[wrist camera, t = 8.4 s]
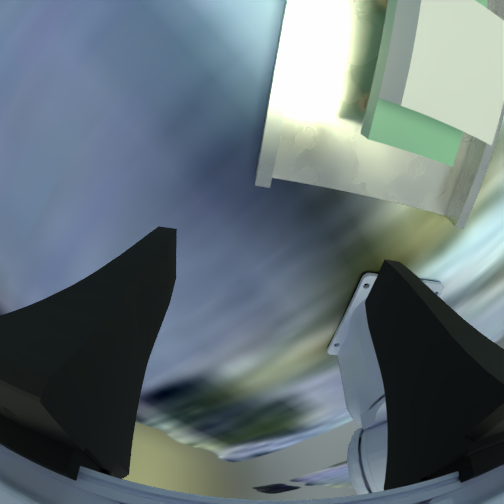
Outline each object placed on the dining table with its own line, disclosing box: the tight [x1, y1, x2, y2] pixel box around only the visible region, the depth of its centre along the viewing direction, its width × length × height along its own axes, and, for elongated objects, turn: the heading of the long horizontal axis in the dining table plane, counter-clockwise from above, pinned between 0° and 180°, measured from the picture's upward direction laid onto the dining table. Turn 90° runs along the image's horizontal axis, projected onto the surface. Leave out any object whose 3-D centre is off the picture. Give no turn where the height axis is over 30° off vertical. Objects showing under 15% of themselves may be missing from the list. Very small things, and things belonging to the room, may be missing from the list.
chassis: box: [255, 0, 504, 229], centre depth 12 cm, size 18×14×3 cm
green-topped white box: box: [360, 0, 504, 167], centre depth 9 cm, size 10×5×4 cm, turn 171°
